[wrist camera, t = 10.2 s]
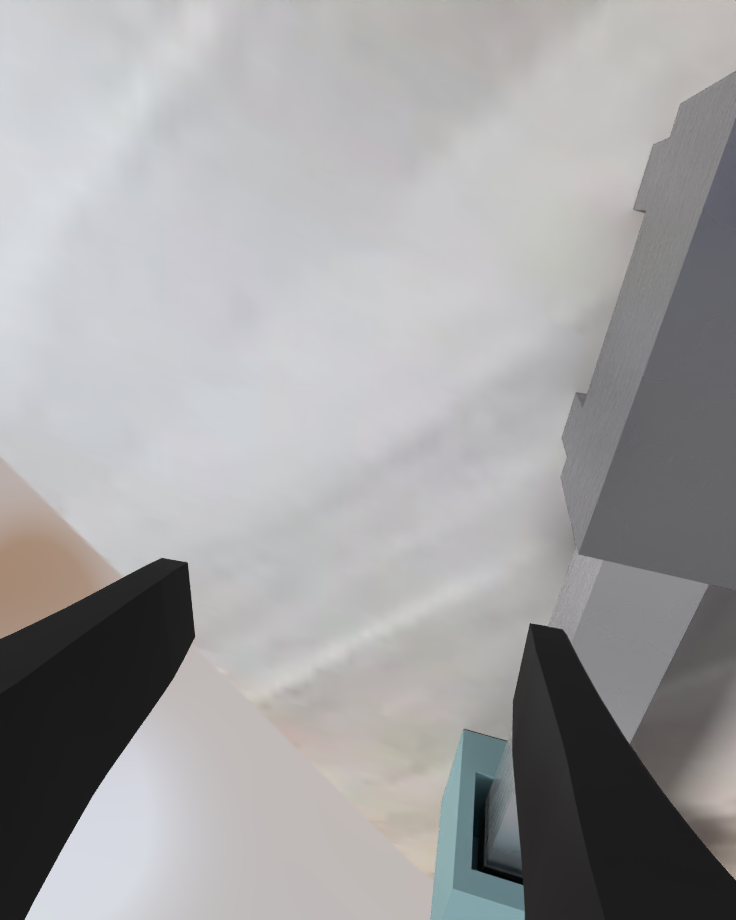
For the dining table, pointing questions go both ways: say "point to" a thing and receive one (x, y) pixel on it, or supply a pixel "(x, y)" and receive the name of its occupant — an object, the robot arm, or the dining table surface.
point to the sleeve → (668, 369)
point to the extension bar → (598, 670)
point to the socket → (470, 841)
